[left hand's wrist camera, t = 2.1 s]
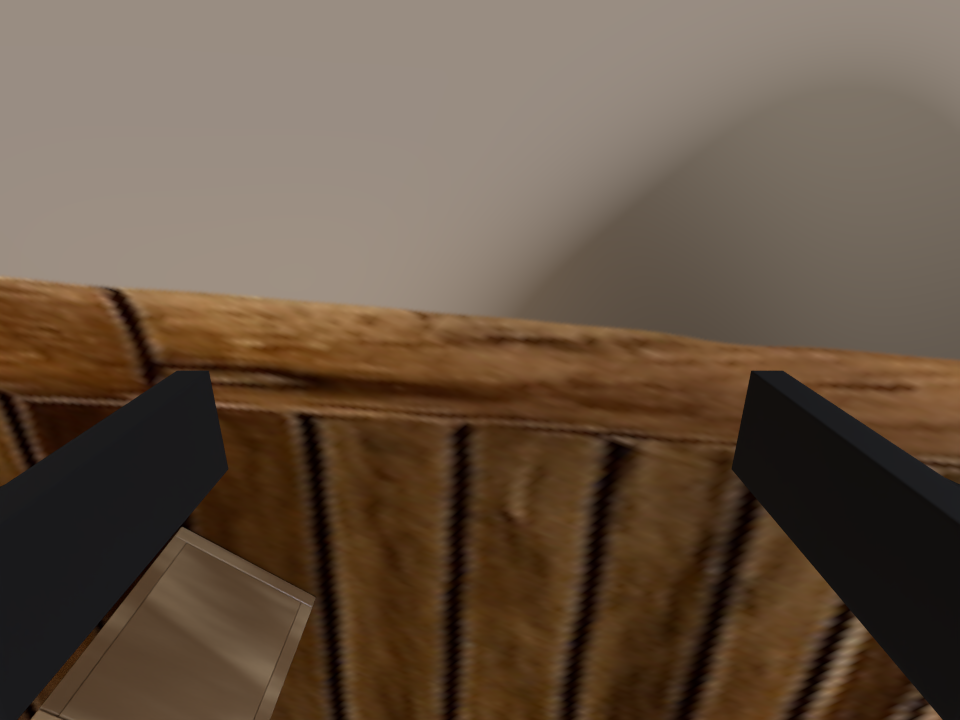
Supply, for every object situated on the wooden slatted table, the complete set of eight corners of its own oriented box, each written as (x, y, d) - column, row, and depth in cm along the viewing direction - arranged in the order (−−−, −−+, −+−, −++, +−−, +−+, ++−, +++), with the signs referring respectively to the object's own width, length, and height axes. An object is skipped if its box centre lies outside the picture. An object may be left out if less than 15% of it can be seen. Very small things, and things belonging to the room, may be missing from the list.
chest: (230, 691, 39) (138, 888, 29) (106, 635, 36) (-41, 828, 26) (316, 597, 34) (243, 790, 24) (182, 526, 32) (39, 707, 22)
